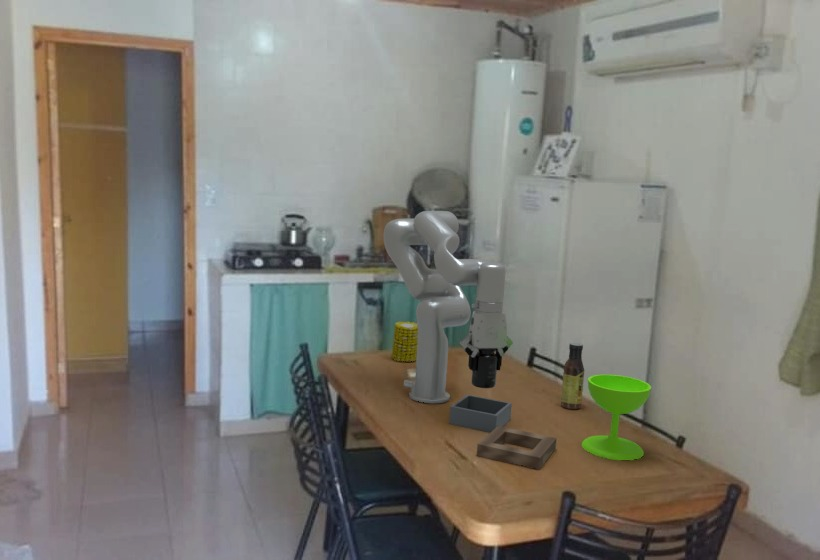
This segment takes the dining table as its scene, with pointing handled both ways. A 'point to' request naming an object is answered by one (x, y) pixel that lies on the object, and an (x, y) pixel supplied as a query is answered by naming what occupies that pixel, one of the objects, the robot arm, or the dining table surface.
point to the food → (405, 341)
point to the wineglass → (616, 414)
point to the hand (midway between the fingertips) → (484, 369)
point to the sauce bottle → (573, 378)
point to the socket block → (534, 458)
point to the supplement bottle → (485, 369)
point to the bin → (480, 413)
